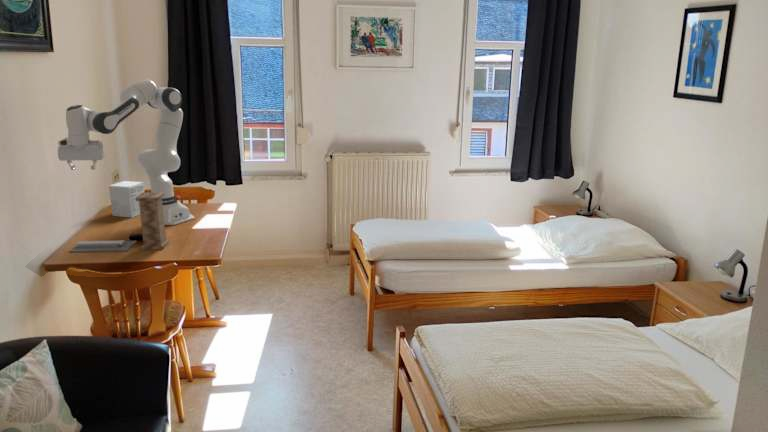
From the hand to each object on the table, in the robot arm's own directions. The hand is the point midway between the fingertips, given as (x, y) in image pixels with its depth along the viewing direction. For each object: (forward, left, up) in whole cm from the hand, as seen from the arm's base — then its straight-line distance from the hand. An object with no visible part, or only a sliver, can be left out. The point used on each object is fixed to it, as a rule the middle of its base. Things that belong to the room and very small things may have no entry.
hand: (83, 169), depth 291 cm
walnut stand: (-15, +32, -35) cm, 50 cm away
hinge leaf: (+3, +14, -34) cm, 37 cm away
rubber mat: (+2, +15, -35) cm, 38 cm away
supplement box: (-35, -32, -35) cm, 59 cm away
